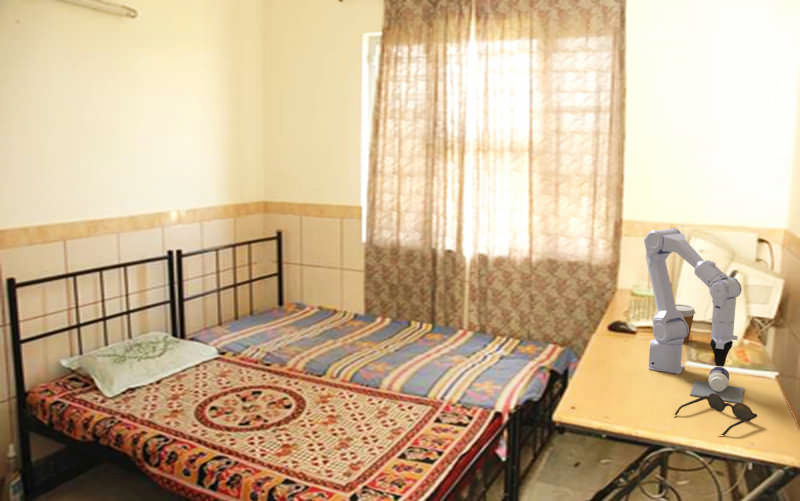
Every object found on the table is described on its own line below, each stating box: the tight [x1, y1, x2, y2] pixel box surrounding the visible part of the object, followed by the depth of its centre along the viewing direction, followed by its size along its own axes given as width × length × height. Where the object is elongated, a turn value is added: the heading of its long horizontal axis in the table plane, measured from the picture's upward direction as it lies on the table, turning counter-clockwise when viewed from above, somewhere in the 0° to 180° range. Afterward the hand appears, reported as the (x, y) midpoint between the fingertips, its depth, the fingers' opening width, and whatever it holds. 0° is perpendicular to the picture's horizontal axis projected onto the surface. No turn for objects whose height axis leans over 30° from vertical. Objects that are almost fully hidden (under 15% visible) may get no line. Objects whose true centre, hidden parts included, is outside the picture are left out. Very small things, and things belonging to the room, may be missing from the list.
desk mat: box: [689, 379, 745, 404], centre depth 190 cm, size 13×12×1 cm
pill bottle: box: [707, 366, 730, 392], centre depth 191 cm, size 5×5×9 cm
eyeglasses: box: [674, 393, 758, 436], centre depth 171 cm, size 15×15×5 cm
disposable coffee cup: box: [667, 303, 696, 344], centre depth 236 cm, size 10×10×12 cm
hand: (719, 365), depth 192 cm, fingers closed
